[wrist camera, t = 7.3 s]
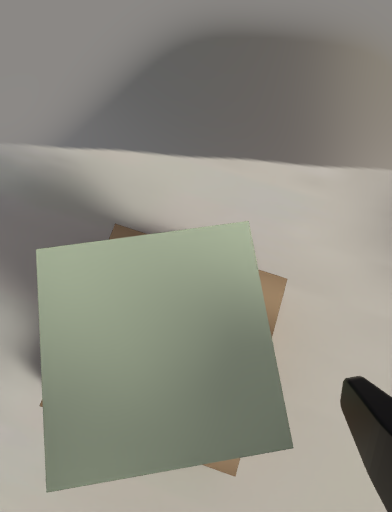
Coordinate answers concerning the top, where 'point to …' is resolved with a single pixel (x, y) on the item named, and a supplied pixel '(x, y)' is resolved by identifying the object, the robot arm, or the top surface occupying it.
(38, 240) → the top surface
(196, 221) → the top surface
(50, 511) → the top surface
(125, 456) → the tea tin
